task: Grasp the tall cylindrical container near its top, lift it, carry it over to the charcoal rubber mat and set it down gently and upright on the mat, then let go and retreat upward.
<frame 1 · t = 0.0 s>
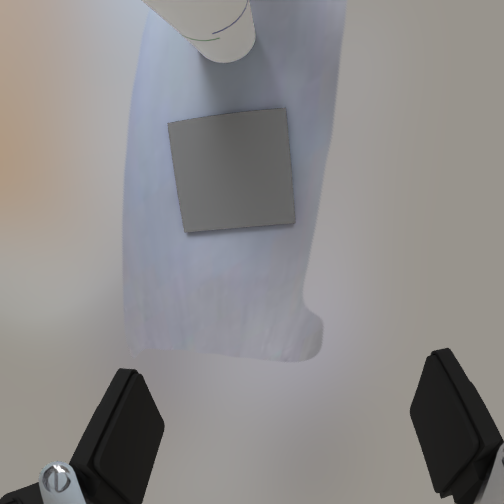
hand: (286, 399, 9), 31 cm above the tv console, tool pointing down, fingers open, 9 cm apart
rubber mat: (232, 170, 37), on the tv console
cylindrical container: (225, 37, 31), on the tv console
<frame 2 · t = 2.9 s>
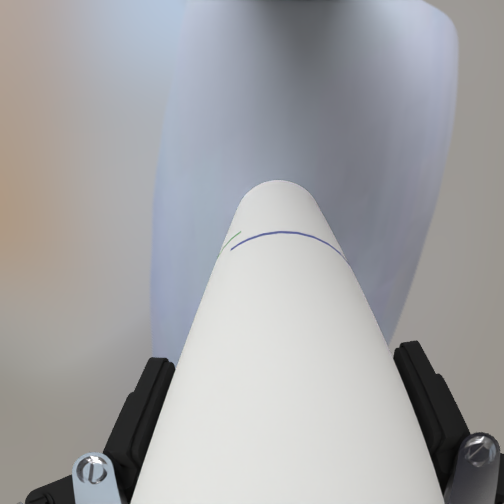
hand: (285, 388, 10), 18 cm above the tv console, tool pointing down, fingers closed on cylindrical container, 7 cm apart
cylindrical container: (278, 221, 26), on the tv console, touching gripper
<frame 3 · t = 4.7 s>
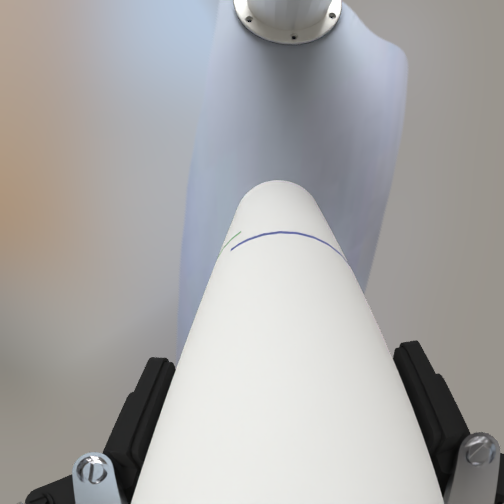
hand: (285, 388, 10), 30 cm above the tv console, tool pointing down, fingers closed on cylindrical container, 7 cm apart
cylindrical container: (278, 222, 26), point 12 cm above the tv console, touching gripper
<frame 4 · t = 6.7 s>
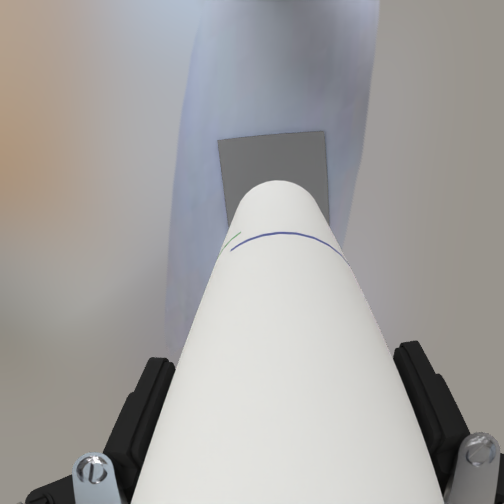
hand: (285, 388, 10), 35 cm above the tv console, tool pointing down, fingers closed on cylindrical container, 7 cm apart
rubber mat: (275, 185, 42), on the tv console
cylindrical container: (278, 222, 26), point 17 cm above the tv console, touching gripper
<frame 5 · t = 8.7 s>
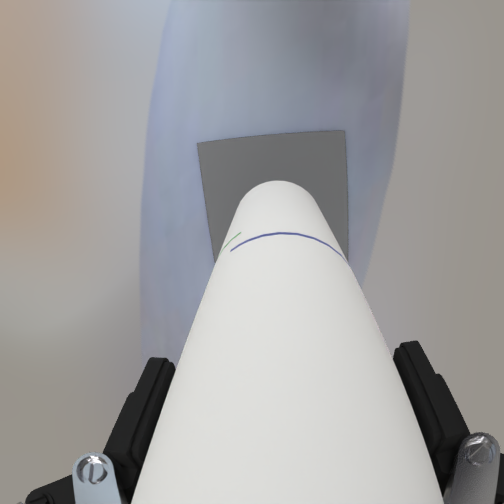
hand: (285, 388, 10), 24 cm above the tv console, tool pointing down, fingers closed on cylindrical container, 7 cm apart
rubber mat: (277, 204, 31), on the tv console
cylindrical container: (278, 222, 26), point 6 cm above the tv console, touching gripper
when the fingers open (20 cm above the tv console, at t = 10.6 s): cylindrical container stays where it is, resting on rubber mat.
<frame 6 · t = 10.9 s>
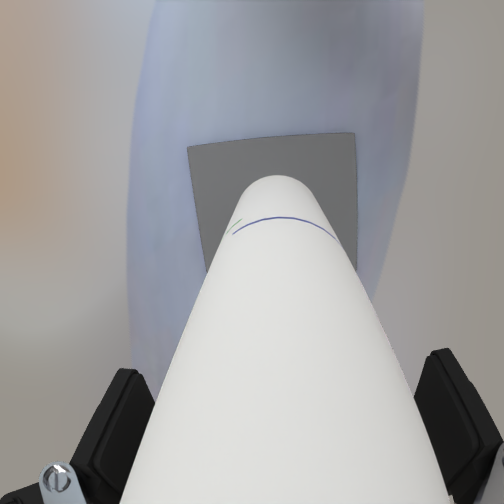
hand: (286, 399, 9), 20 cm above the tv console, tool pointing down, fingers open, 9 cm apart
rubber mat: (277, 216, 28), on the tv console
cylindrical container: (277, 215, 27), point 1 cm above the tv console, touching rubber mat
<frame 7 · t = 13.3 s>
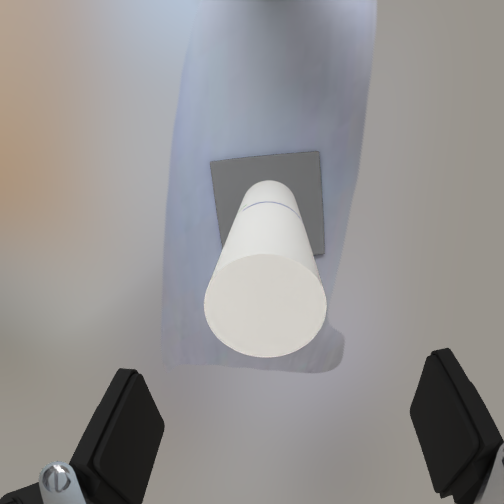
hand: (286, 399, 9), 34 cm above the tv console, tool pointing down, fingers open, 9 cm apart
rubber mat: (269, 207, 42), on the tv console
cylindrical container: (269, 206, 41), point 1 cm above the tv console, touching rubber mat
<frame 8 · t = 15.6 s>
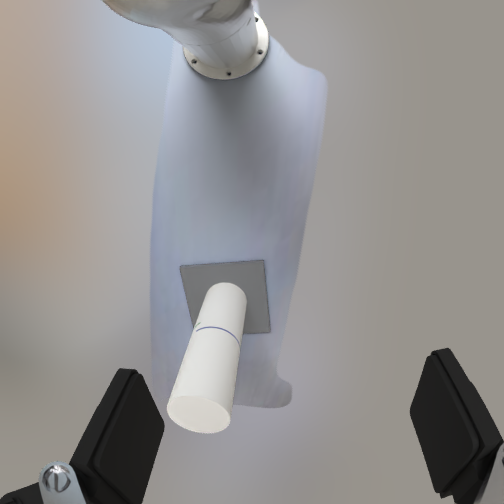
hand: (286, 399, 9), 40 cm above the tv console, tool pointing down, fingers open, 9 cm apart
rubber mat: (226, 299, 55), on the tv console
cylindrical container: (226, 300, 54), point 1 cm above the tv console, touching rubber mat
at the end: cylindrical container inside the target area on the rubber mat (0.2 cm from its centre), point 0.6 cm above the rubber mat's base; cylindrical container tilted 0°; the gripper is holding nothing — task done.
